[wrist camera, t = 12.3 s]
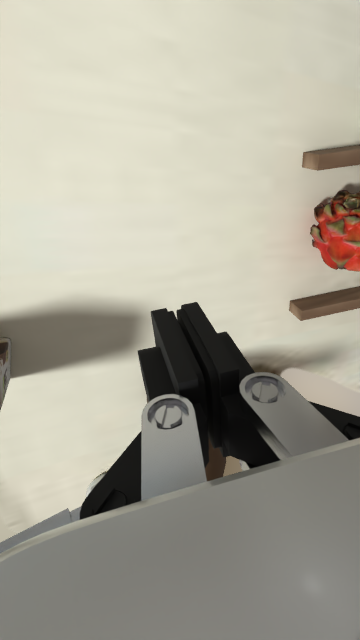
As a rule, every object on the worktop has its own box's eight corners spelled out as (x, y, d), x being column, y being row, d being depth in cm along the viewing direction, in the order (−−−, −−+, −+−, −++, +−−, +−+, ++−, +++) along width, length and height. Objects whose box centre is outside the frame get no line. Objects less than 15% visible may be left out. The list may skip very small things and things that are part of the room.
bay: (303, 152, 38) (319, 154, 35) (424, 136, 40) (447, 137, 38) (289, 310, 48) (300, 320, 45) (385, 289, 50) (401, 298, 48)
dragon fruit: (300, 183, 41) (342, 237, 48) (284, 245, 39) (330, 292, 46) (378, 158, 34) (412, 225, 42) (364, 231, 32) (402, 288, 40)
